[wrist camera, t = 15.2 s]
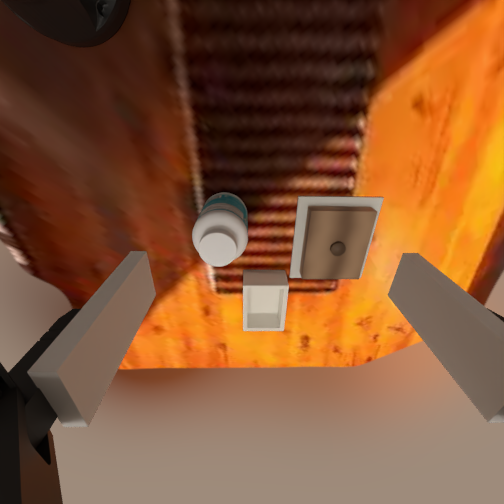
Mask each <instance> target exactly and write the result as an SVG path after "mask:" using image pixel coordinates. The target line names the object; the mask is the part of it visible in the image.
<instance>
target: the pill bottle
mask: <svg viewBox="0 0 504 504" xmlns="http://www.w3.org/2000/svg"><path fill="white" fill-rule="evenodd" d="M192 239H193V243H194V246H195V248H196V250H197V251H198V252H199V254H200V256H201V258H202V259H203V260H204V261H205V262H206V263H208V264H210V265H212V266H225V265H227V264H229V263H231V262H232V261H233V260H234V259H236V258H238V257H239V256H240V255H241V254H242V253H243V251H244V250H245V248H246V246H247V242H248V220H247V209H246V206H245V204H244V203H243V201H242V200H241V199H240V198H239V197H237V196H236V195H234V194H231V193H226V192H222V193H217V194H215V195H213V196H211V197H210V198H209V199H208V200H207V201H206V203H205V205H204V207H203V209H202V211H201V213H200V215H199V217H198V219H197V221H196V223H195V226H194V228H193V232H192Z"/></svg>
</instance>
